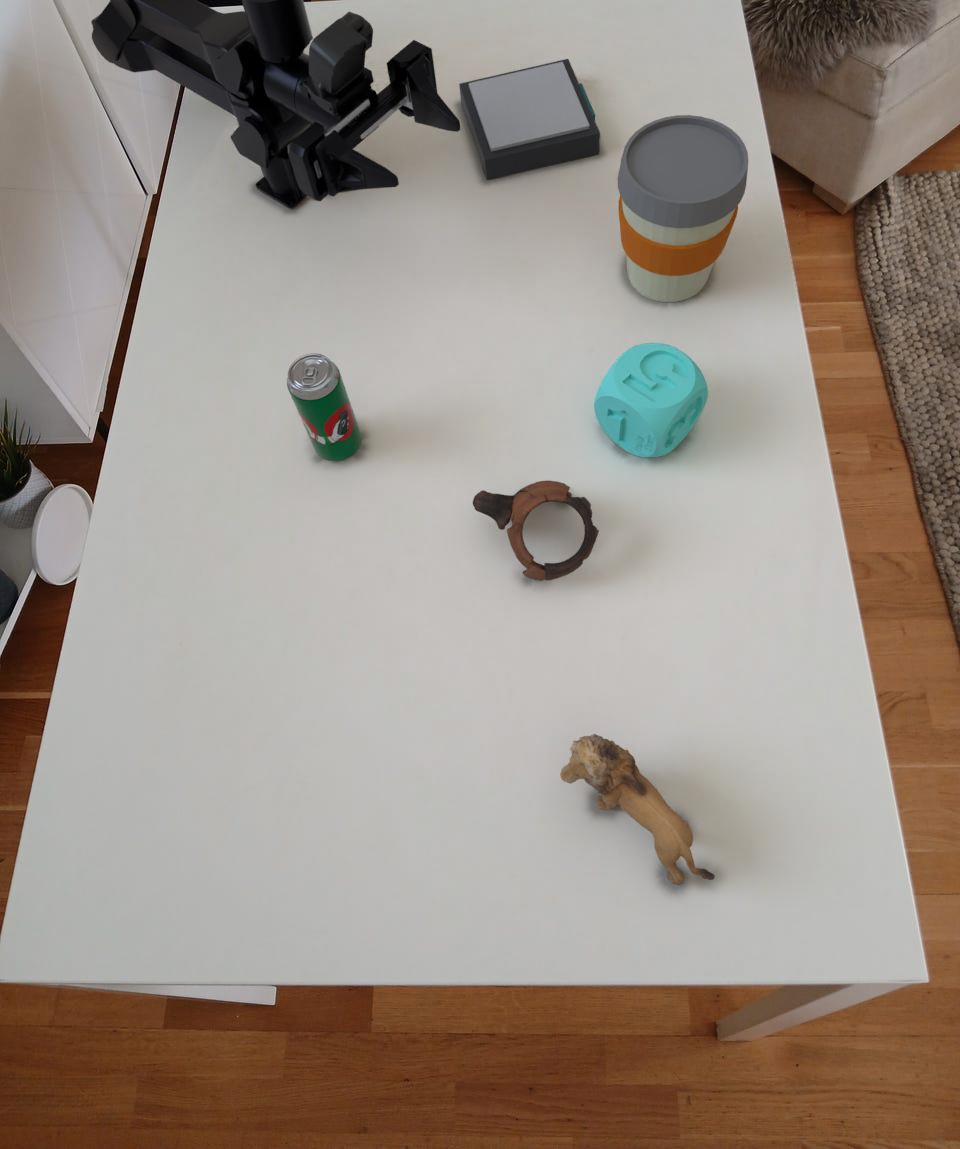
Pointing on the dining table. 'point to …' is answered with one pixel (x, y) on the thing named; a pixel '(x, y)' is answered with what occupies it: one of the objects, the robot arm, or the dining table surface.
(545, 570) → the jagged brown ring
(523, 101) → the scale
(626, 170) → the reusable coffee cup
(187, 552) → the dining table surface
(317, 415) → the soda can
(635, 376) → the decorative dice
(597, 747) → the lion figurine
